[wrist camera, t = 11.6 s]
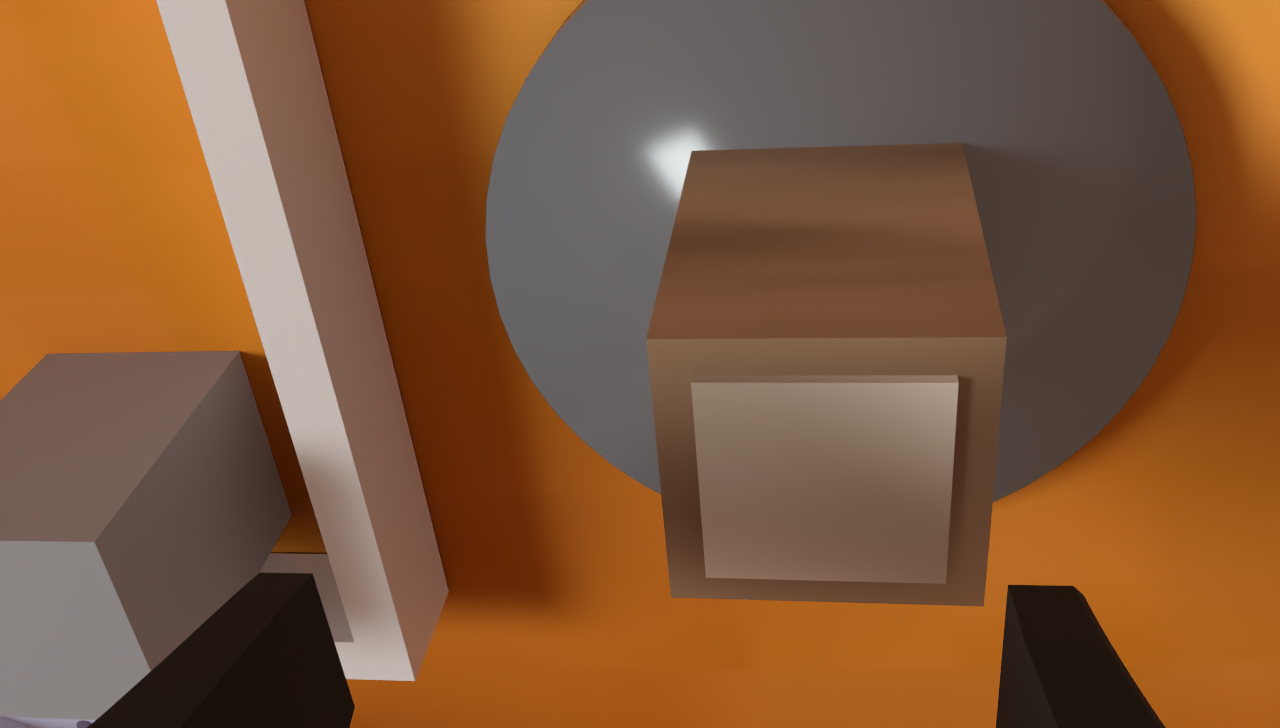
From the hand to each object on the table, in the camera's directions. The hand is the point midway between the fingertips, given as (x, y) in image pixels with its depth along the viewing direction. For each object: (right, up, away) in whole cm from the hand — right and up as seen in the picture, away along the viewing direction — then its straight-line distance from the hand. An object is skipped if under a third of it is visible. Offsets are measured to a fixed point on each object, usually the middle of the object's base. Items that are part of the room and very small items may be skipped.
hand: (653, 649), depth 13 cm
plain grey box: (-10, +2, +12) cm, 15 cm away
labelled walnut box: (+3, +5, +7) cm, 8 cm away
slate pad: (+3, +5, +7) cm, 9 cm away
